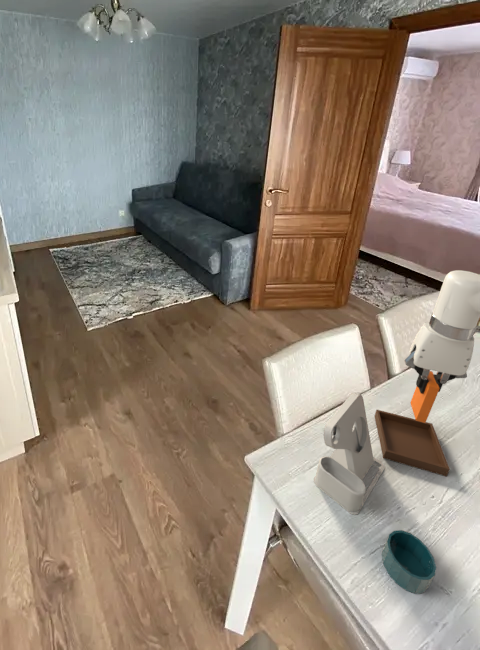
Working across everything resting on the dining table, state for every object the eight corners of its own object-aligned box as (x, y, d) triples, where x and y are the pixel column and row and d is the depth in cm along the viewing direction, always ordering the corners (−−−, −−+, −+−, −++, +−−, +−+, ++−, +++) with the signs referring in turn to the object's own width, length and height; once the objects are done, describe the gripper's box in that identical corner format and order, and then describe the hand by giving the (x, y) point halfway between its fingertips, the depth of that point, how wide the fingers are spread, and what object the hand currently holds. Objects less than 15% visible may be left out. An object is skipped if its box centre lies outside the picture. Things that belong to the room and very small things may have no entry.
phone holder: (354, 521, 72) (373, 461, 65) (309, 483, 79) (322, 426, 72) (385, 467, 82) (404, 411, 76) (343, 438, 89) (357, 385, 83)
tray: (429, 430, 92) (432, 423, 91) (446, 476, 80) (450, 469, 79) (374, 415, 96) (376, 409, 95) (383, 458, 85) (385, 451, 84)
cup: (421, 555, 66) (428, 539, 64) (433, 603, 60) (442, 587, 58) (378, 539, 69) (384, 524, 67) (385, 584, 62) (392, 568, 60)
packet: (419, 405, 87) (432, 371, 82) (425, 423, 82) (440, 388, 77) (410, 402, 87) (422, 369, 83) (415, 420, 82) (429, 386, 78)
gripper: (487, 324, 75) (459, 388, 82) (405, 309, 80) (385, 371, 87) (504, 345, 69) (472, 412, 76) (413, 328, 74) (392, 393, 81)
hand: (426, 390), depth 82 cm, fingers closed on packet, 1 cm apart
